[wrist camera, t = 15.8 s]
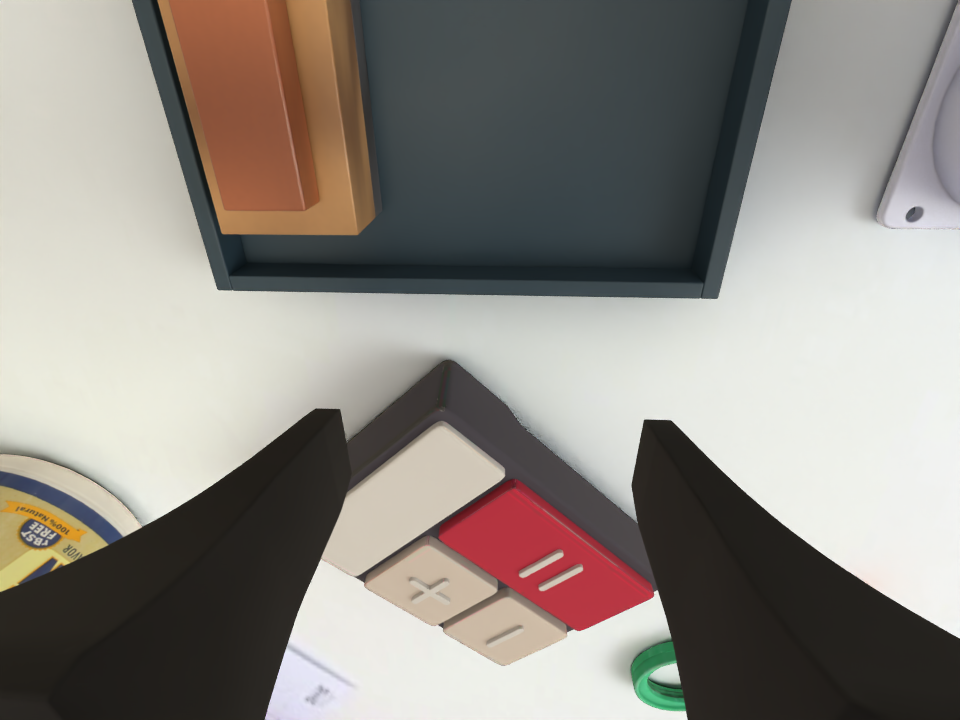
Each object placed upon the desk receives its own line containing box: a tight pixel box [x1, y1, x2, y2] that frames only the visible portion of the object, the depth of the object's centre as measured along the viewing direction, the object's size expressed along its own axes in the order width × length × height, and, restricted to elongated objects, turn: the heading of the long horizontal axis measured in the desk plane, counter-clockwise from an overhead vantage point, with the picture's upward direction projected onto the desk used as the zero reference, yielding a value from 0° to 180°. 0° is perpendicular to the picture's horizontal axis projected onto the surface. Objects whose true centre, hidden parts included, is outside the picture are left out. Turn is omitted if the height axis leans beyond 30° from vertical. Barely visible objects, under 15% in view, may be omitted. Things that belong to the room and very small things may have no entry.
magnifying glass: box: [631, 641, 686, 711], centre depth 29 cm, size 15×6×2 cm, turn 138°
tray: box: [132, 0, 792, 299], centre depth 15 cm, size 18×13×2 cm
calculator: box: [321, 360, 658, 666], centre depth 24 cm, size 11×4×15 cm
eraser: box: [157, 0, 382, 235], centre depth 14 cm, size 8×4×4 cm, turn 1°
